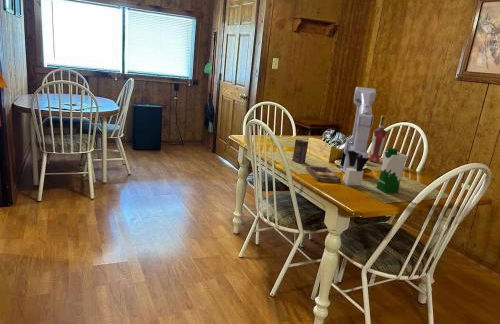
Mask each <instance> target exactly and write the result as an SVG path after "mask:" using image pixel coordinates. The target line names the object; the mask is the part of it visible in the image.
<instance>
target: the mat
mask: <svg viewBox="0 0 500 324" xmlns="http://www.w3.org/2000/svg"><path fill="white" fill-rule="evenodd" d="M343 181H344V180H340V183H342V184H343V185H344V186H346V187H347V188H349V187H350V188H364V186H363V185H362V184H361V185H347V184H345V183H344V182H343Z"/></svg>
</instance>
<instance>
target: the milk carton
mask: <svg viewBox="0 0 500 324" xmlns="http://www.w3.org/2000/svg"><path fill="white" fill-rule="evenodd" d="M382 155H383V158H382V159H383V161H382V164H381V169H380V174H379V177H378V181H377V183H376V184H377V185H376V186H375V187H376V189H378V190H380V191H381V192H382V193H384V194H399V190H400V184H401V179H402V175H403V171H404V167H405V164H406V162H407V160H408V158H409V155H406V154H403V153H401V152H399V151H398V149H397V148H395V147H394V148H393V147H388V149H387V151H386V150H383V154H382Z"/></svg>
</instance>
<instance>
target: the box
mask: <svg viewBox="0 0 500 324" xmlns="http://www.w3.org/2000/svg"><path fill="white" fill-rule="evenodd" d="M308 145H309V141H307V140H304V139H299V138H298V139H295V141H294V149H293V152H292V153H293V154H292V162H293V161H294V162H296V163H299V164H304V163H305V162H306V157H307V152H308Z"/></svg>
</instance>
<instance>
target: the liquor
mask: <svg viewBox="0 0 500 324" xmlns="http://www.w3.org/2000/svg"><path fill="white" fill-rule="evenodd" d="M386 118H387V117H386V115H381V116H380V121H379V125H378V128H375V129H373V133H372V138H371V139H372V141H371V146H370V153H369V156H368V158H369V160H368V161H369V162H372V163H379V162H380V161H381V159H380V158H381V154H382V150H383V147H384V144H385V139H386V136H387V130H385V129H384V128H385V121H386Z"/></svg>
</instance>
